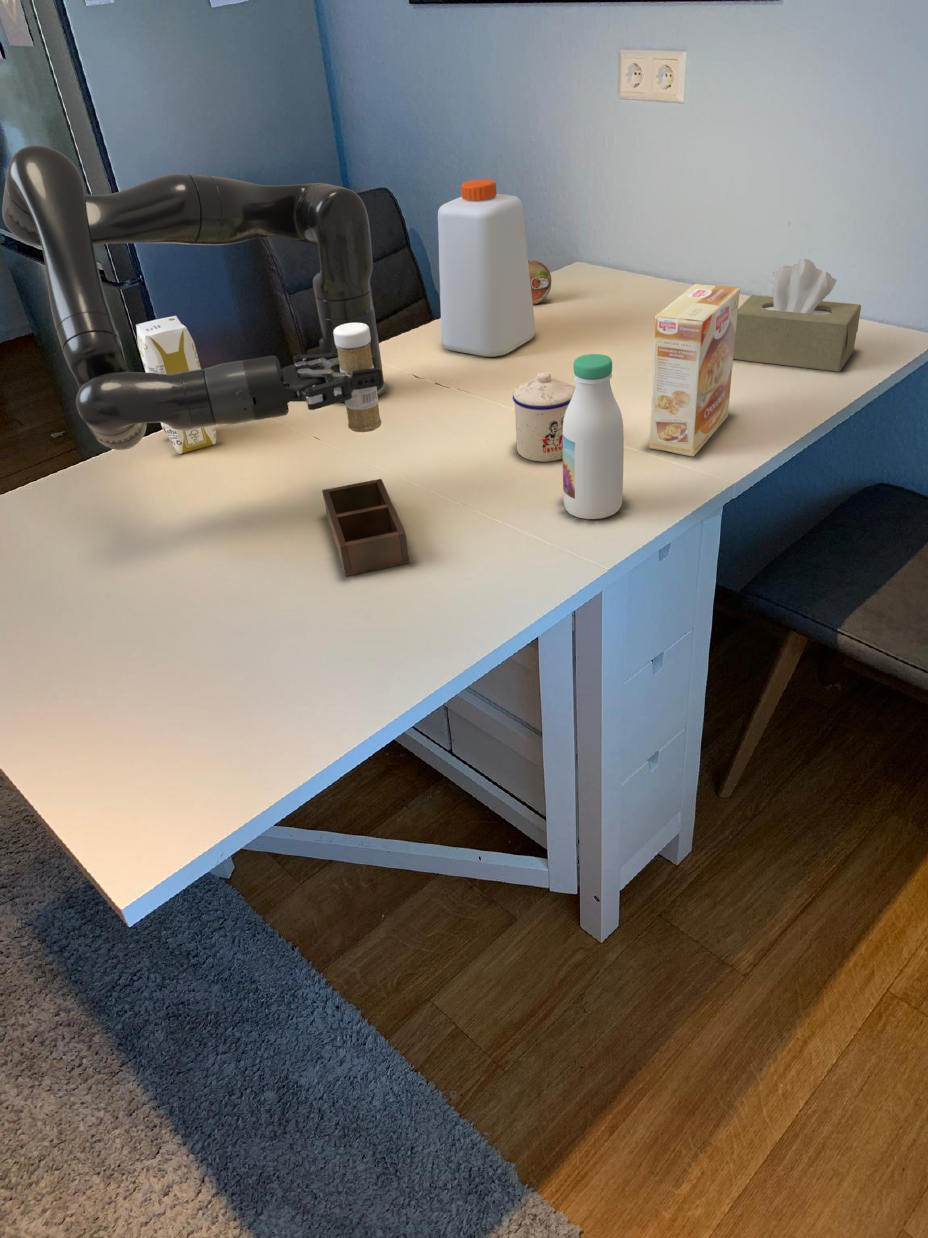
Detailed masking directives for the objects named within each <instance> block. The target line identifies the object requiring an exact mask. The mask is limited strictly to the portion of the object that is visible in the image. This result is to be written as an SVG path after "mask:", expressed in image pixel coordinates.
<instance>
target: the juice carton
mask: <svg viewBox="0 0 928 1238" xmlns="http://www.w3.org/2000/svg"><path fill="white" fill-rule="evenodd" d="M135 327H136V338H137V339H136V340H137V347H138V350H139V354H140V357H141V361H142V364H143V368H144V371H145V373H158V374H175V373H179V372H185V371H191V370H198V369H202V367H201V363H200V360H199V356H198V352H197V348H196V344H195V341H194V339H193V337H192V336H191V333H190V331H189V330H188V328H187V326H185V325H184V324H182V322H181V321H180V319H179V318H178V316H177V315H173V316H172V315H171V316H167V317H162V318H157V319H153V320H149V321H144V322H141V323H137V324H135ZM160 425H161V428H162V430H163V432H164V433H165V435H166V437H167V438H168V439H169V441H170V442H171V444H172V446H173V447H174V449H175V450H176V452H177V453H178V454H185V453H189V452H192V451H195V450H196V451H197V450H199V449H203V448H207V447H211V446H214V445H216V444H217V431H216V425H213V426H207V427H201V428H195V429H189V430H176V429H173V428H172V427H170V426H169V425H167V424H165V423H160Z"/></svg>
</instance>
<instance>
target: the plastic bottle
mask: <svg viewBox="0 0 928 1238" xmlns="http://www.w3.org/2000/svg"><path fill="white" fill-rule="evenodd" d="M460 193H461V196H459V197H457V198H455V199H452V200H450V201H448V202H446V203H443V204H442V205H441V206H440V207H439V208H438V211H437V229H438V230H437V232H438V233H437V236H438V269H439V272H438V273H439V302H440V303H439V305H440V308H439V309H440V334H441V335H440V339H441V344H442V346H443V347H444V348H445V349H447V350H448V351H452V352H457V353H463V354H468V355H473V356H474V355H475V356H480V357H487V358H494V357H500V356H501V357H502V356H505V355H507V354H509V353H511V352H513V351H514V350H516V349H518V348H519V347H521V346H522V345H524V344H526V343H527V342H529V341H530V340H532V339H533V338H534V336H535V334H536V323H535V322H536V321H535V313H534V304H533V302H532V293H531V284H530V274H529V265H528V261H529V257H528V256H529V255H528V246H527V237H526V228H525V227H526V226H525V219H524V210H523V203H522V200H521V199H520V198H519V197H518V196H515V195H513V194H512V195H511V194H509V195H508V194H503V193H497V183H496V181H495V180H493V179H489V178H488V179H487V178H479V179H478V178H477V179H471V180H467V181H464V182H462V184H461V185H460Z"/></svg>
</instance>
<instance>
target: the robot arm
mask: <svg viewBox="0 0 928 1238" xmlns="http://www.w3.org/2000/svg"><path fill="white" fill-rule="evenodd" d="M3 189H4V190H3V196H2V206H1V213H2V219H3V222H4V224H5V227H6V228H7V229H8V230H9V231H10V233H11V234H13V235H14V236H15V237H16V238H18V239H20V240H21V241H22V242H25V243H28V244H30V245H33V246H36V247H41V250H42V255H43V260H44V265H45V266H44V267H45V272H46V281H47V290H48V298H49V305H50V310H51V315H52V319H53V324H54V328H55V330H56V334H57V337H58V341H59V344H60V347H61V350H62V354H63V356H64V359H65V361H66V364H67V366H68V368H69V370H70V371H71V373H72V375H73V377H74V379H75V381H76V383H77V386H78V391H77V394H76V396H75V397H76V398H75V406H76V409H77V412H78V414H79V416H80V418H81V420H82V422H84V424H85V425H86V427H87V428H88V431H90V433H91V435H92V436H93V437H94V439H95V440H96V441H97V442H99V443H100V444H101V445H103V446H104V447H107V449H111V450H115V451H124V450H125V451H126V450H129V449H131V448H133V447H135V446H137V445H138V444H139V443H140V442H141V441H142V439H143V438H144V436H145V434H146V432H147V431H146V430H147V425H148V424H157V423H158V424H159V423H160V424H161V423H165V424H167V425H169V426H170V427H172V428H173V429H176V430H189V429H195V428H201V427H207V426H213V425H215V426H216V425H217V426H220V425H236V424H242V423H248V422H254V421H255V422H256V421H260V420H266V419H273V418H278V417H284V416H287V415H288V414H289V412H290V411H289V403H295V402H296V403H297V402H298V403H302V402H303V403H306V405H307V410H309V411H314V410H318V409H322V408H325V407H329V406H331V405H335V404H338V403H345V401H346V400H349V399H351V398H352V393H354V392H355V390H358V389H364V388H370V387H377V395H378V398H379V397H380V396H382V395H384V393H385V392H386V383H385V379H384V371H383V364H382V357H381V349H380V348H381V347H380V342H379V334H378V328H377V321H376V313H375V307H374V299H373V292H372V291H373V290H372V283H371V279H372V274H373V269H374V261H373V248H372V237H371V227H370V220H369V216H368V215H369V214H368V212H367V208H366V205H365V203H364V200H363V199H362V198H361V197H360V196H359V194H358V193H356V192H355V191H353V190H352V189H350V188H346V187H344V186H339V185H335V184H331V183H325V182H314V183H313V182H311V183H300V184H284V185H283V184H280V185H278V184H277V185H268V184H259V183H254V182H251V181H250V182H249V181H245V180H242V179H235V178H229V177H221V176H216V175H215V176H214V175H204V174H189V173H172V174H171V173H170V174H166V175H165V174H164V175H162V176H159V177H156V178H153V179H150V180H147V181H144V182H141V183H138V184H136V185H134V186H131V187H129V188H126V189H123V190H119V191H117V192H111V193H106V194H86V191H85V184H84V179H83V177H82V174H81V172H80V171H79V169H78V168H77V166H76V165H75V163H74V162H73V161H72V160H71V159H70V158H68V156H66V155H65V154H63V153H62V152H60V151H58V150H57V149H55V148H52V147H49V146H45V145H28V146H25V147H22V148H20V149H19V150H18V151H16V152H15V154H13V156H12V158H11V159H10V162H9V164H8V167H7V169H6V174H5V183H4V188H3ZM261 238H274V239H275V238H277V239H285V240H292V241H299V242H303V243H306V244H307V243H308V244H310V245H314V246H317V248H318V256H319V257H318V258H319V265H320V266H319V267H320V271H319V272H317V273H316V274H315V275H314V276H313V278H312V288H313V293H314V298H315V303H316V309H317V311H316V312H317V315H318V321H319V328H320V333H321V338H320V339H319V341H318V345H319V351H320V353H313V354H312V353H311V354H296V355H294V356H293V361H294V364H290V365H288V366H287V365H286V366H284V367H281V363H280V360H279V358H278V356H276V355H267V356H262V357H254V358H248V359H243V360H236V361H235V360H234V361H230V362H224V363H219V364H216V365H212V366H209V367H205V368H201V369H198V370H191V371H185V372H179V373H175V374H158V373H146V372H144V371H143V372H139V371H130V370H129V368H128V366H127V362H126V358H125V353H124V349H123V345H122V342H121V338H120V335H119V332H118V329H117V325H116V323H115V319H114V317H113V313H112V311H111V307H110V305H109V301H108V298H107V295H106V292H105V287H104V285H103V281H102V277H101V274H100V270H99V266H98V262H97V258H96V252H95V249H94V246H98V245H110V244H111V245H112V244H176V245H178V244H179V245H189V246H190V245H192V246H224V245H225V246H226V245H233V244H239V243H243V242H246V241H250V240H254V239H255V240H256V239H261ZM347 323H363V324H366V325H368V327H369V330H370V337H371V341H370V342H371V344H370V348H371V354H372V362H373V365H374V368H370V369H364V370H358V371H352V373H351V372H341V373H340V364H339V357H338V350H337V348H336V345H335V341H334V333H333V332H334V329H335V328H336V327H338V326H340V325H343V324H347Z"/></svg>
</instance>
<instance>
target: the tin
mask: <svg viewBox="0 0 928 1238" xmlns="http://www.w3.org/2000/svg"><path fill="white" fill-rule="evenodd" d="M528 265H529V274H530V284H531V293H532V302H533V305H537V304H539V303H541V302H543V301H544V300H545V299H546V298H547V297H548V296H549V294H550V291H551V288H552V275H551V273H550V271H549V269H548V267H547V266H546V265H545V264H544V263H542V262H541V261H537V260H528Z"/></svg>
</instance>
